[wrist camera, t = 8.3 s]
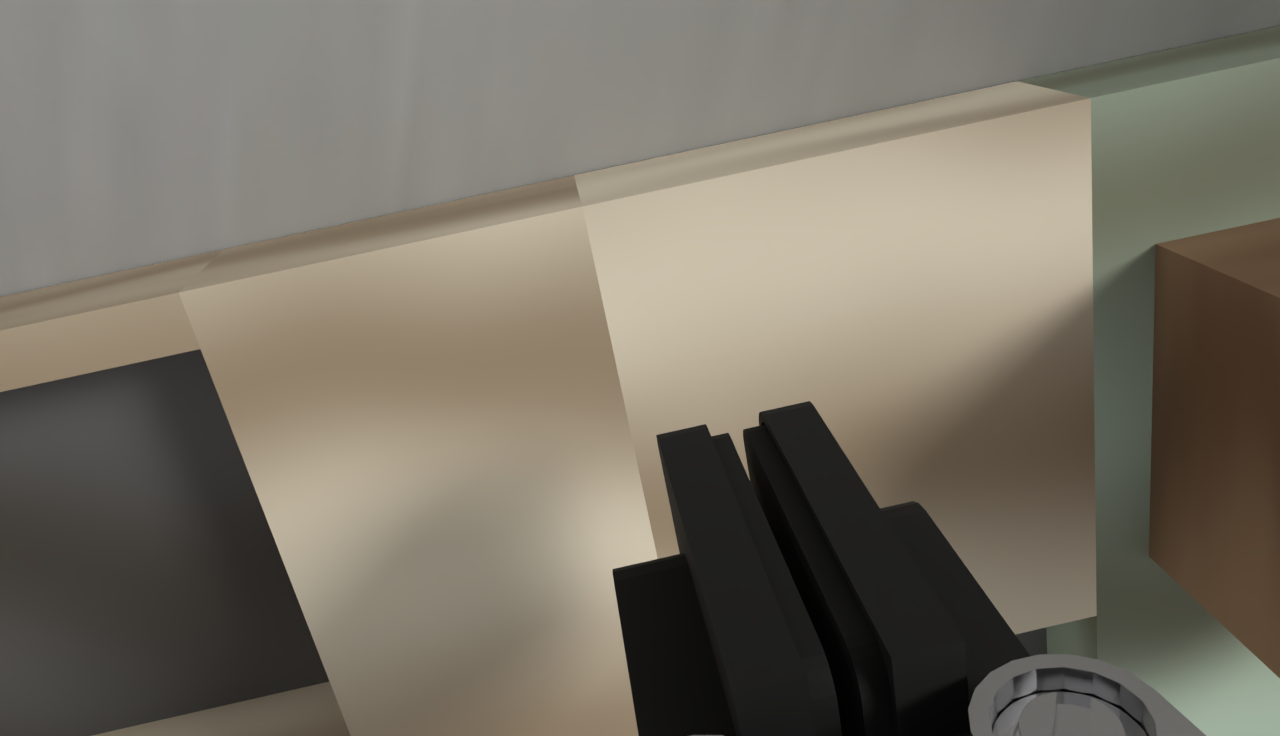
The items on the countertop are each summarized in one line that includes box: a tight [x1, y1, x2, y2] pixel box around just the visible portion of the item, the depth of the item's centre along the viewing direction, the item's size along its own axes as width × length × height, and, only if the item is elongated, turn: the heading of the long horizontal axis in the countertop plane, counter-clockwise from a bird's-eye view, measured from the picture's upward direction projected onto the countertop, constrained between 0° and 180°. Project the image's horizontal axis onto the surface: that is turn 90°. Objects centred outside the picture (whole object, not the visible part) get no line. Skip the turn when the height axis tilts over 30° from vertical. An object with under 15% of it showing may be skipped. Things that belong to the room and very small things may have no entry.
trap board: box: [0, 26, 1280, 736], centre depth 15 cm, size 15×26×4 cm, turn 102°
